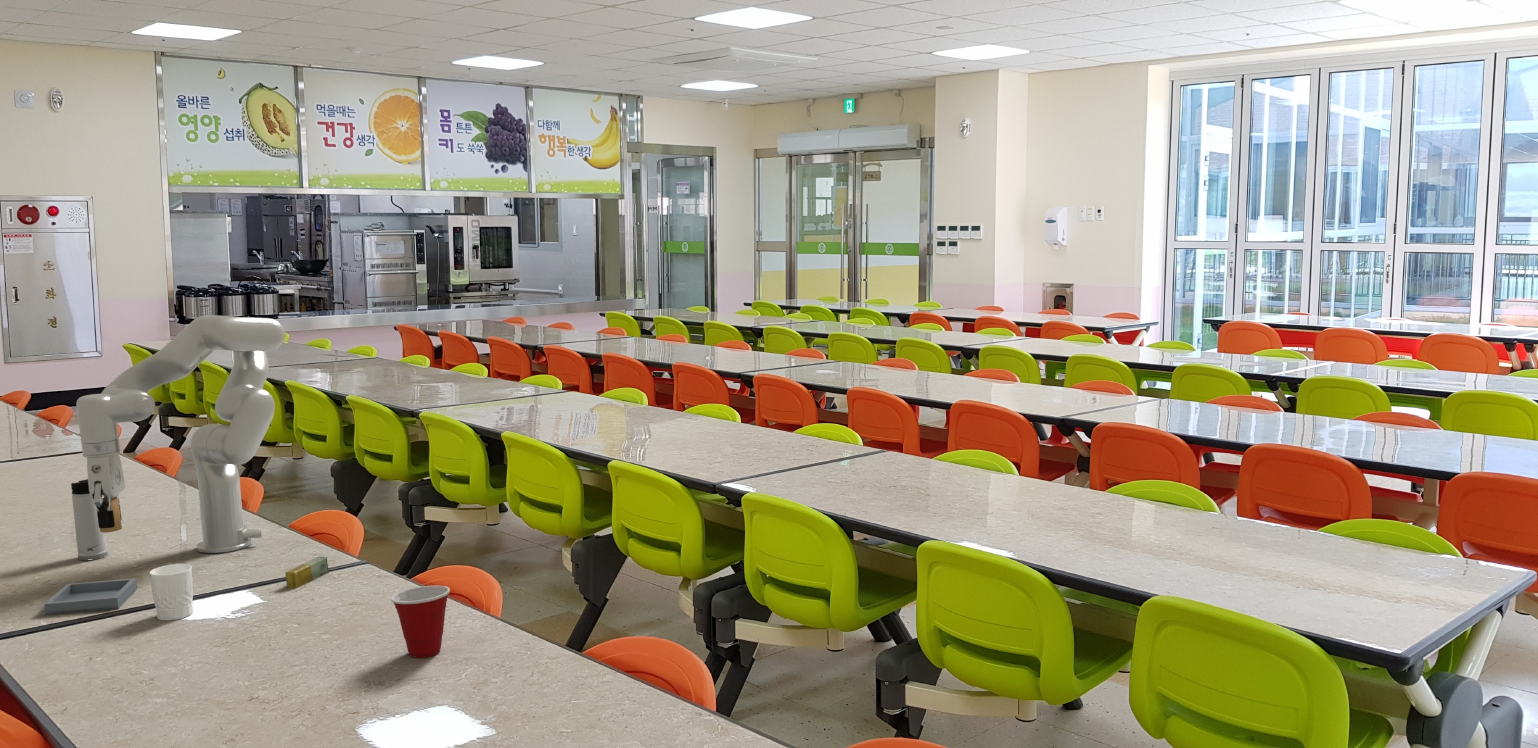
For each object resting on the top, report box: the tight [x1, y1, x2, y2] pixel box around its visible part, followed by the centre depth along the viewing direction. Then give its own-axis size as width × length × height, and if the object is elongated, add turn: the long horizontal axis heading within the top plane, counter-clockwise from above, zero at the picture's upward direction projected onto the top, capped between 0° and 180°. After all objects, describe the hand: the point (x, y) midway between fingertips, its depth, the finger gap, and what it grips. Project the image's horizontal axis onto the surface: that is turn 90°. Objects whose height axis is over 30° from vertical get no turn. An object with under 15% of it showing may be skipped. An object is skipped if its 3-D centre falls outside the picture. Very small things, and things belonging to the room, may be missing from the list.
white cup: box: [149, 563, 194, 621], centre depth 240 cm, size 8×8×10 cm
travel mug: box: [70, 478, 108, 561], centre depth 283 cm, size 6×7×20 cm
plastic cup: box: [390, 585, 451, 659], centre depth 216 cm, size 11×11×12 cm
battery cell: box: [100, 497, 123, 533], centre depth 266 cm, size 4×4×8 cm
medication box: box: [285, 556, 330, 589], centre depth 263 cm, size 12×3×4 cm, turn 166°
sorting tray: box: [43, 577, 138, 616], centre depth 250 cm, size 14×14×2 cm
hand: (110, 523), depth 266 cm, fingers closed on battery cell, 4 cm apart
